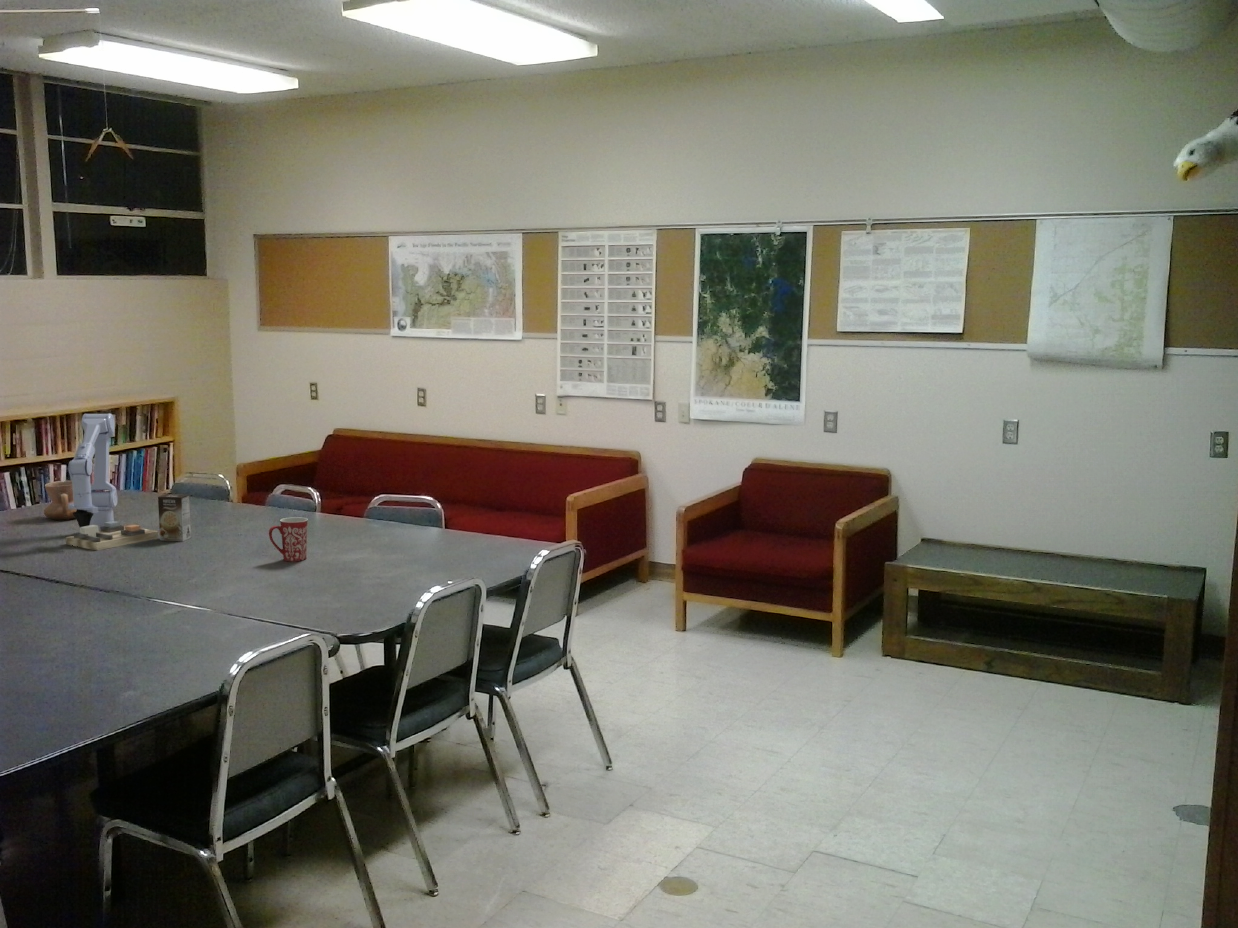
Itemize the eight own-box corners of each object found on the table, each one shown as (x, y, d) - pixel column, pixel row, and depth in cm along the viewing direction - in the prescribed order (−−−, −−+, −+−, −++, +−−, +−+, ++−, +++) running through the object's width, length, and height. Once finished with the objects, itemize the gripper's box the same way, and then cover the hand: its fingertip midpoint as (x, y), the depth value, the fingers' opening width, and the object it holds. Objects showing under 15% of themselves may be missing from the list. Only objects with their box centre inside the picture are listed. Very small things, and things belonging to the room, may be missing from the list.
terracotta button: (125, 530, 387) (124, 526, 386) (134, 528, 390) (133, 524, 389) (131, 531, 385) (131, 527, 384) (140, 529, 388) (140, 525, 388)
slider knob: (80, 538, 379) (79, 527, 379) (93, 535, 384) (93, 524, 383) (85, 539, 378) (84, 528, 377) (98, 536, 382) (98, 525, 382)
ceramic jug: (45, 515, 432) (41, 480, 430) (85, 512, 439) (82, 478, 436) (44, 525, 416) (40, 488, 414) (86, 521, 423) (83, 485, 420)
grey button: (104, 526, 393) (104, 522, 392) (113, 524, 396) (113, 520, 396) (110, 527, 391) (110, 523, 391) (119, 526, 394) (119, 521, 394)
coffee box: (158, 540, 388) (156, 496, 386) (168, 537, 395) (165, 493, 392) (183, 541, 387) (181, 497, 385) (192, 537, 394) (189, 494, 391)
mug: (306, 555, 367) (305, 515, 366) (311, 560, 359) (310, 520, 357) (268, 558, 362) (266, 519, 360) (272, 564, 354) (270, 524, 352)
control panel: (66, 544, 382) (65, 533, 381) (127, 532, 402) (126, 521, 402) (97, 550, 373) (96, 539, 372) (158, 537, 393) (157, 527, 392)
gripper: (59, 492, 380) (61, 530, 382) (83, 496, 373) (86, 535, 375) (78, 489, 386) (80, 527, 388) (102, 493, 379) (105, 531, 381)
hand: (84, 531), depth 382 cm, fingers closed
